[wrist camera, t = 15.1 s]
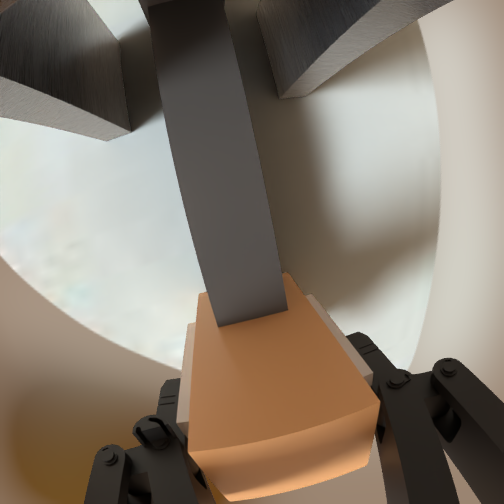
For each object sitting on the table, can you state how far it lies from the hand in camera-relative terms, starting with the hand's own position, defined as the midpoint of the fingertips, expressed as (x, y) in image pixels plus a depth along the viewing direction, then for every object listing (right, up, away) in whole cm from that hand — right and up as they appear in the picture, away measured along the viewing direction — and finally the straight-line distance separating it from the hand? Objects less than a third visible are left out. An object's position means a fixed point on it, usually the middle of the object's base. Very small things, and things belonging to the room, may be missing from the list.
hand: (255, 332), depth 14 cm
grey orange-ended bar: (-2, +8, -1) cm, 9 cm away
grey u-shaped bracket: (-3, +14, -2) cm, 15 cm away
